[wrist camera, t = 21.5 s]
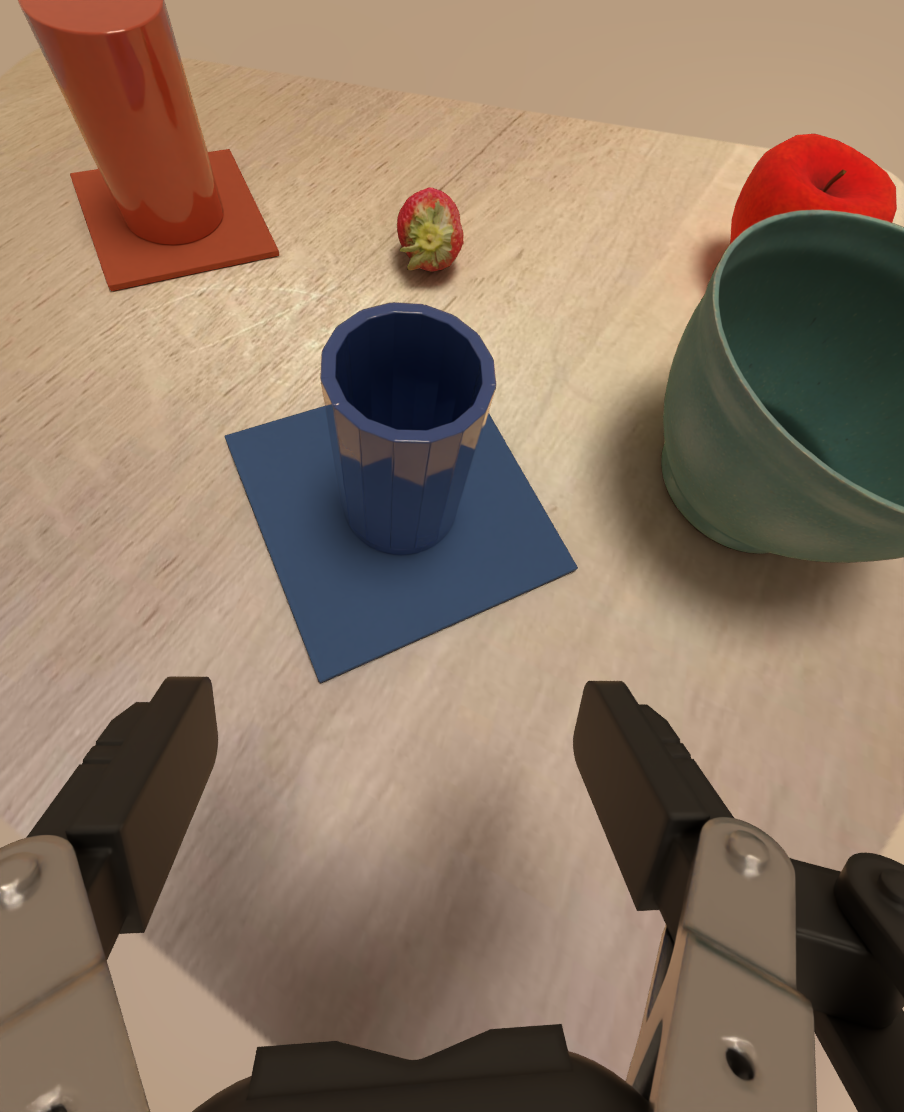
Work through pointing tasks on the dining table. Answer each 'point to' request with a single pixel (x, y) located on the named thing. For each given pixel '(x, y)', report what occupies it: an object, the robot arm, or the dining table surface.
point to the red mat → (151, 262)
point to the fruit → (430, 230)
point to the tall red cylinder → (133, 111)
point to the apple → (813, 183)
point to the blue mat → (380, 578)
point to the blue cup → (404, 420)
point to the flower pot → (795, 392)
